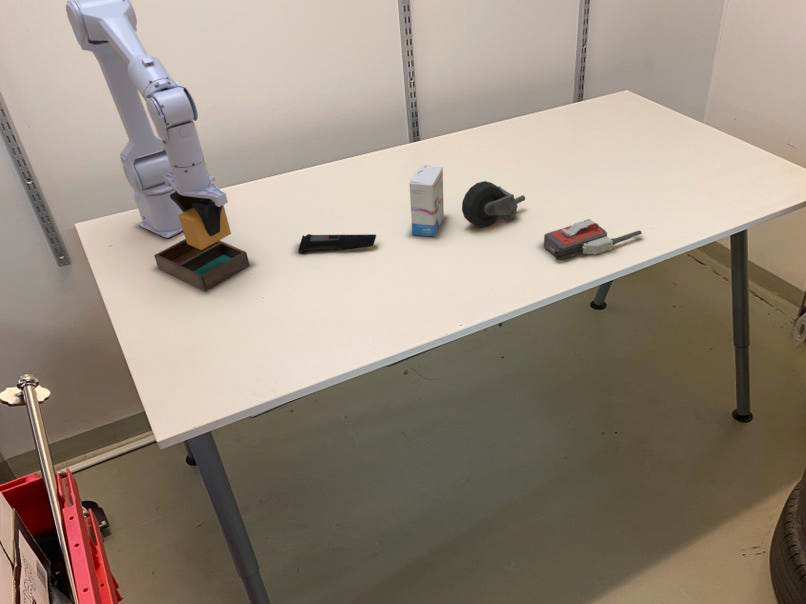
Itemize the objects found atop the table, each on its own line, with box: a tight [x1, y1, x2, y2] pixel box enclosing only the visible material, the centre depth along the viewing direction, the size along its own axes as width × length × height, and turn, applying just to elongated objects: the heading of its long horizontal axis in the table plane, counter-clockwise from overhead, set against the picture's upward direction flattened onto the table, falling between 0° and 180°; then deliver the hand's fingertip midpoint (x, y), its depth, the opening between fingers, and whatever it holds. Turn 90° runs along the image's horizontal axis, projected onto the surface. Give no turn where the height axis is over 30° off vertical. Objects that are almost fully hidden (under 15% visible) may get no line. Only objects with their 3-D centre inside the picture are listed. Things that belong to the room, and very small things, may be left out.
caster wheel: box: [461, 180, 526, 228], centre depth 149 cm, size 6×10×15 cm
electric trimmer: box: [297, 233, 377, 253], centre depth 143 cm, size 4×16×3 cm, turn 92°
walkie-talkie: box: [543, 218, 642, 260], centre depth 143 cm, size 9×4×20 cm
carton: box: [178, 204, 232, 250], centre depth 132 cm, size 4×7×6 cm, turn 145°
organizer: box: [153, 238, 250, 292], centre depth 138 cm, size 14×11×3 cm
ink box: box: [409, 164, 445, 238], centre depth 147 cm, size 9×5×12 cm, turn 168°
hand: (206, 230), depth 133 cm, fingers closed on carton, 4 cm apart
